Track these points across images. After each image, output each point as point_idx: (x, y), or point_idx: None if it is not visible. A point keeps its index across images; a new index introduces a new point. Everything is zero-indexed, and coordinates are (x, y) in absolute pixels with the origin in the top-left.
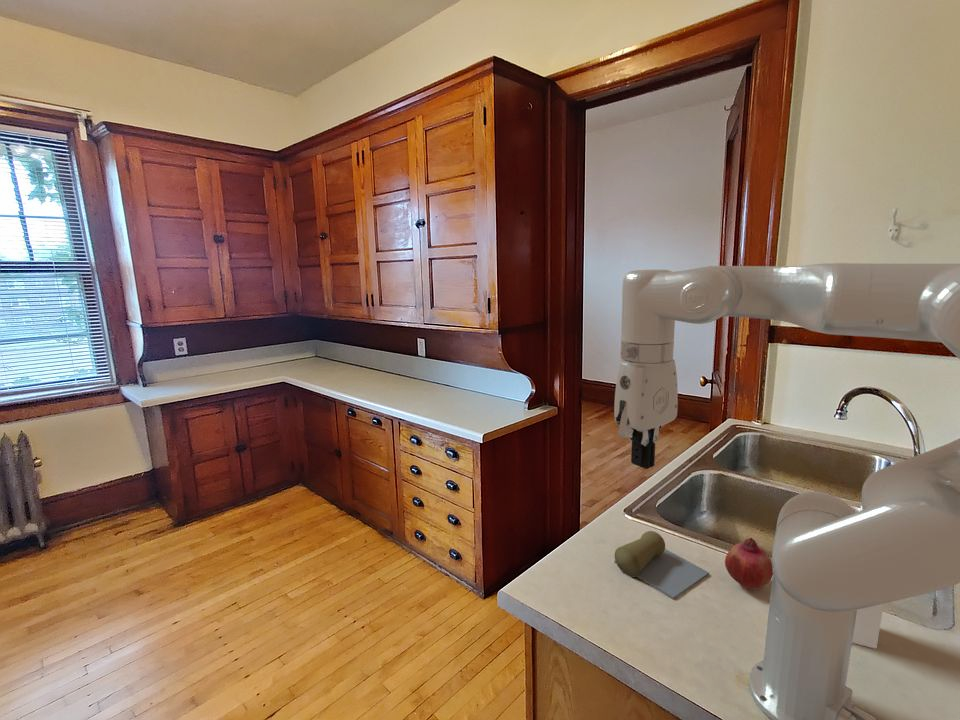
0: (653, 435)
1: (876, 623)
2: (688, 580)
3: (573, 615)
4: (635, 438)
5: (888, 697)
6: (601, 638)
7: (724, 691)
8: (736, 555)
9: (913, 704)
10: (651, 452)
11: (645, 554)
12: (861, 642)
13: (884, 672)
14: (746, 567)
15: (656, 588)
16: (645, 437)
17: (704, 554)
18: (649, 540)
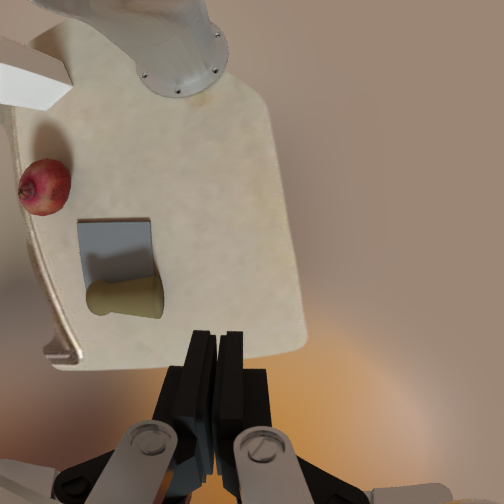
0: (169, 466)
1: (47, 56)
2: (107, 230)
3: (278, 280)
4: (341, 483)
5: None
6: (281, 234)
7: (231, 102)
8: (48, 196)
9: None
10: (208, 381)
11: (131, 286)
12: (64, 69)
13: (86, 43)
14: (55, 177)
15: (151, 247)
16: (272, 477)
17: (54, 249)
18: (106, 300)
